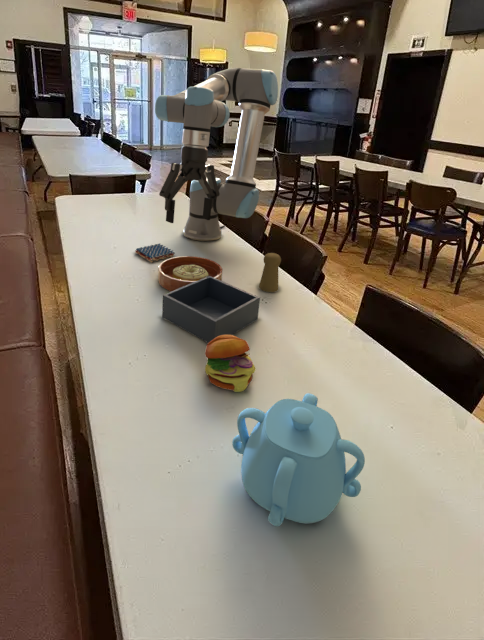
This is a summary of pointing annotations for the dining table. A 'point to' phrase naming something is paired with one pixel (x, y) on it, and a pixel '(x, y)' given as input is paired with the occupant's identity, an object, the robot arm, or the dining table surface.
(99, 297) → the dining table surface
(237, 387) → the cheeseburger
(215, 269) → the bowl
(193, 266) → the decorated donut
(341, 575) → the dining table surface
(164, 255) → the woven mat
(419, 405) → the dining table surface
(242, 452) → the decorative pot
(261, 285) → the brown pawn
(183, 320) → the bin
